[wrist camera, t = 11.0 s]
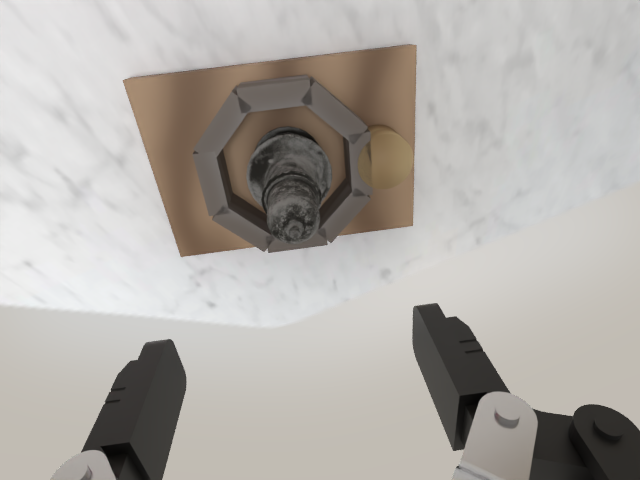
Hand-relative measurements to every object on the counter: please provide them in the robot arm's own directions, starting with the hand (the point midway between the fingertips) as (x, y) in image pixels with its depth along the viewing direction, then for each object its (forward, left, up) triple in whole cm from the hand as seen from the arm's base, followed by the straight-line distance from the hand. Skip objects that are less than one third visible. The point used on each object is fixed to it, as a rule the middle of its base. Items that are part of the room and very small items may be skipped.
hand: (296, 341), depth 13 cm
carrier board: (0, 0, -21) cm, 21 cm away
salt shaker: (0, 0, -19) cm, 19 cm away
